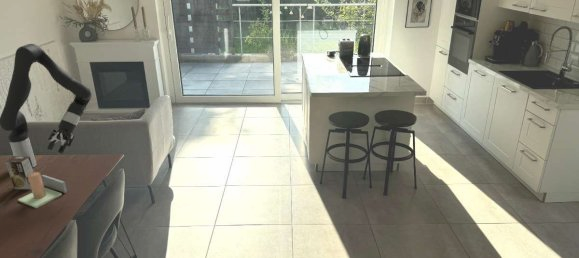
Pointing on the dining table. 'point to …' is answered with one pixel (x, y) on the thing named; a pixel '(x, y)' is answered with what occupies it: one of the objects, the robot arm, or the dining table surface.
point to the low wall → (54, 183)
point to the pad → (37, 203)
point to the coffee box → (20, 171)
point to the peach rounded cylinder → (36, 185)
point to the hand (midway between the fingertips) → (54, 151)
